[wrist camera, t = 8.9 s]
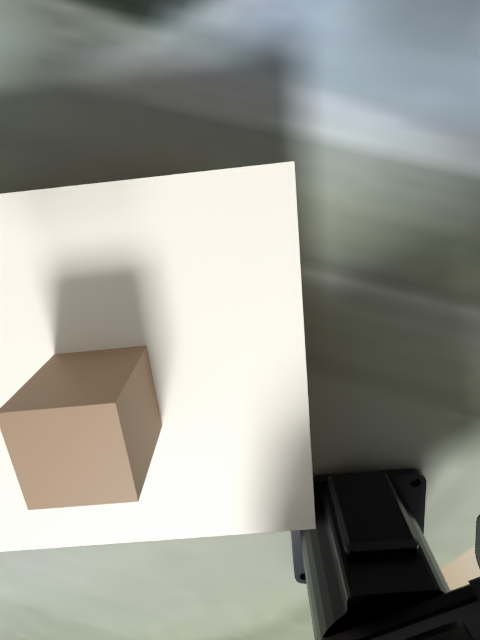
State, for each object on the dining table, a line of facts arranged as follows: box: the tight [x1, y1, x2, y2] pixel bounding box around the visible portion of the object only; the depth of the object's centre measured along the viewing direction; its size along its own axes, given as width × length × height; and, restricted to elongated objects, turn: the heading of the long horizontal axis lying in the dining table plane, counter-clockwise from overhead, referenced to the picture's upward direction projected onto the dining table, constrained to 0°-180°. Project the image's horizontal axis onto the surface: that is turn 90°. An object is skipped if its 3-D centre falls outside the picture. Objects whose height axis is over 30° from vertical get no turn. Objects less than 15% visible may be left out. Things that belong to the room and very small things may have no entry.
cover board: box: [0, 161, 316, 552], centre depth 13 cm, size 13×13×4 cm
